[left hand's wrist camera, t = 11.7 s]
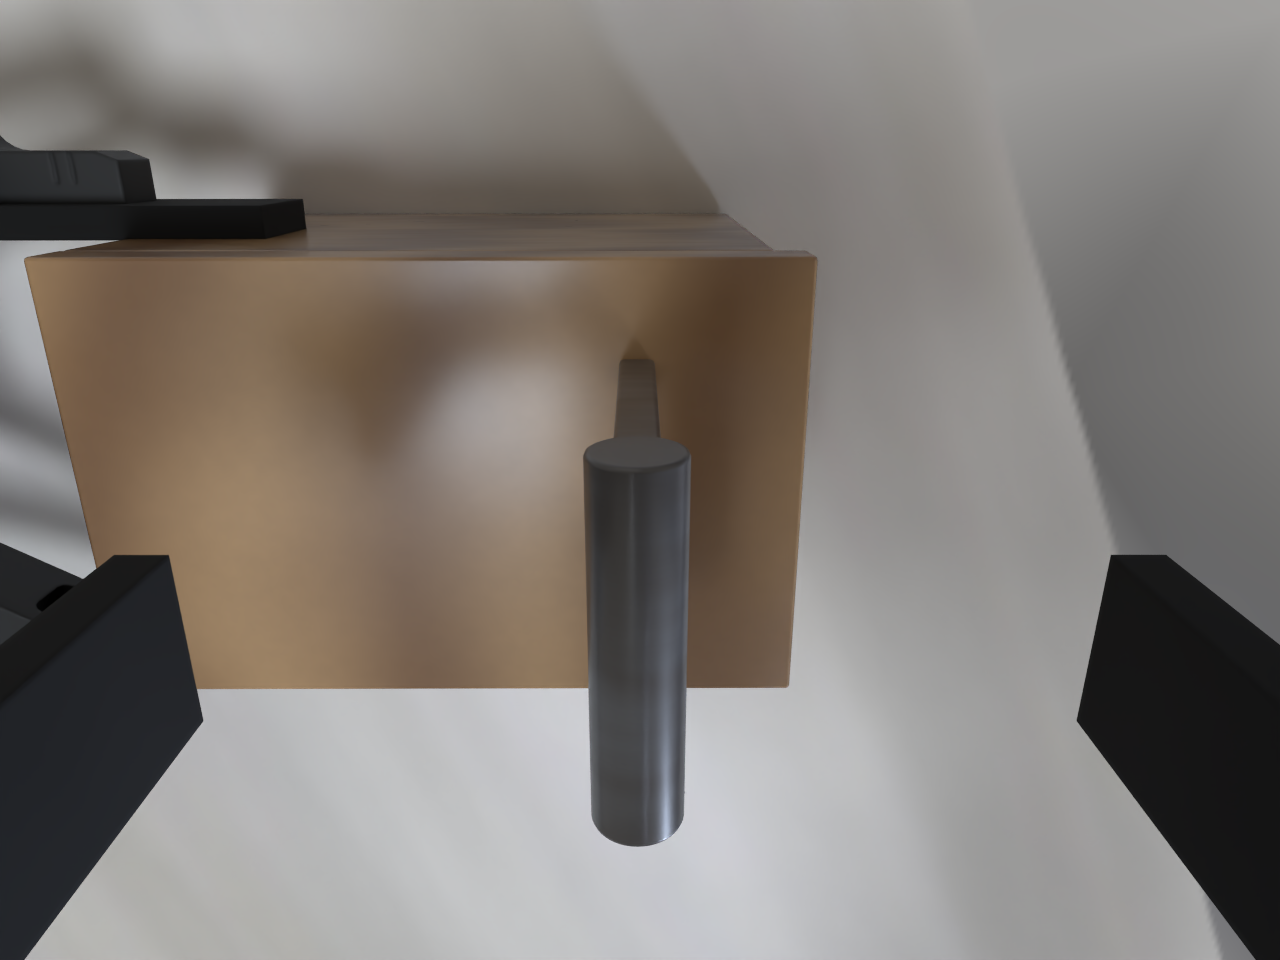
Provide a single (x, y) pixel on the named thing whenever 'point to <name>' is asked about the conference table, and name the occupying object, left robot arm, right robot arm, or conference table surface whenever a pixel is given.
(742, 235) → the chest
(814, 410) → the conference table surface
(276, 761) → the conference table surface
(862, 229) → the conference table surface
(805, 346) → the lid
